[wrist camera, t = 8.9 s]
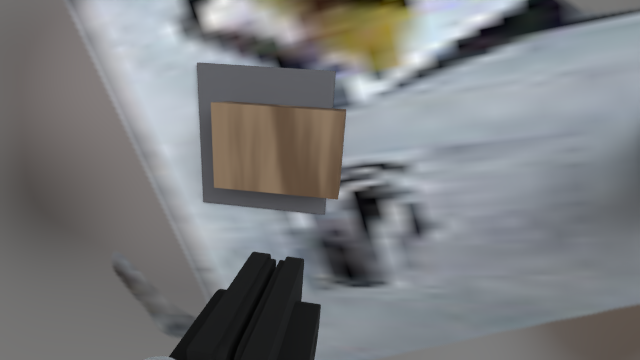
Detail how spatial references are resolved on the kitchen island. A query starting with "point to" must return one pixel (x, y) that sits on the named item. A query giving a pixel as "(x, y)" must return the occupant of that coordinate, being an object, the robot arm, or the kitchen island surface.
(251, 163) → the brown wooden block
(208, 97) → the charcoal mat
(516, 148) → the kitchen island surface
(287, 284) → the robot arm
